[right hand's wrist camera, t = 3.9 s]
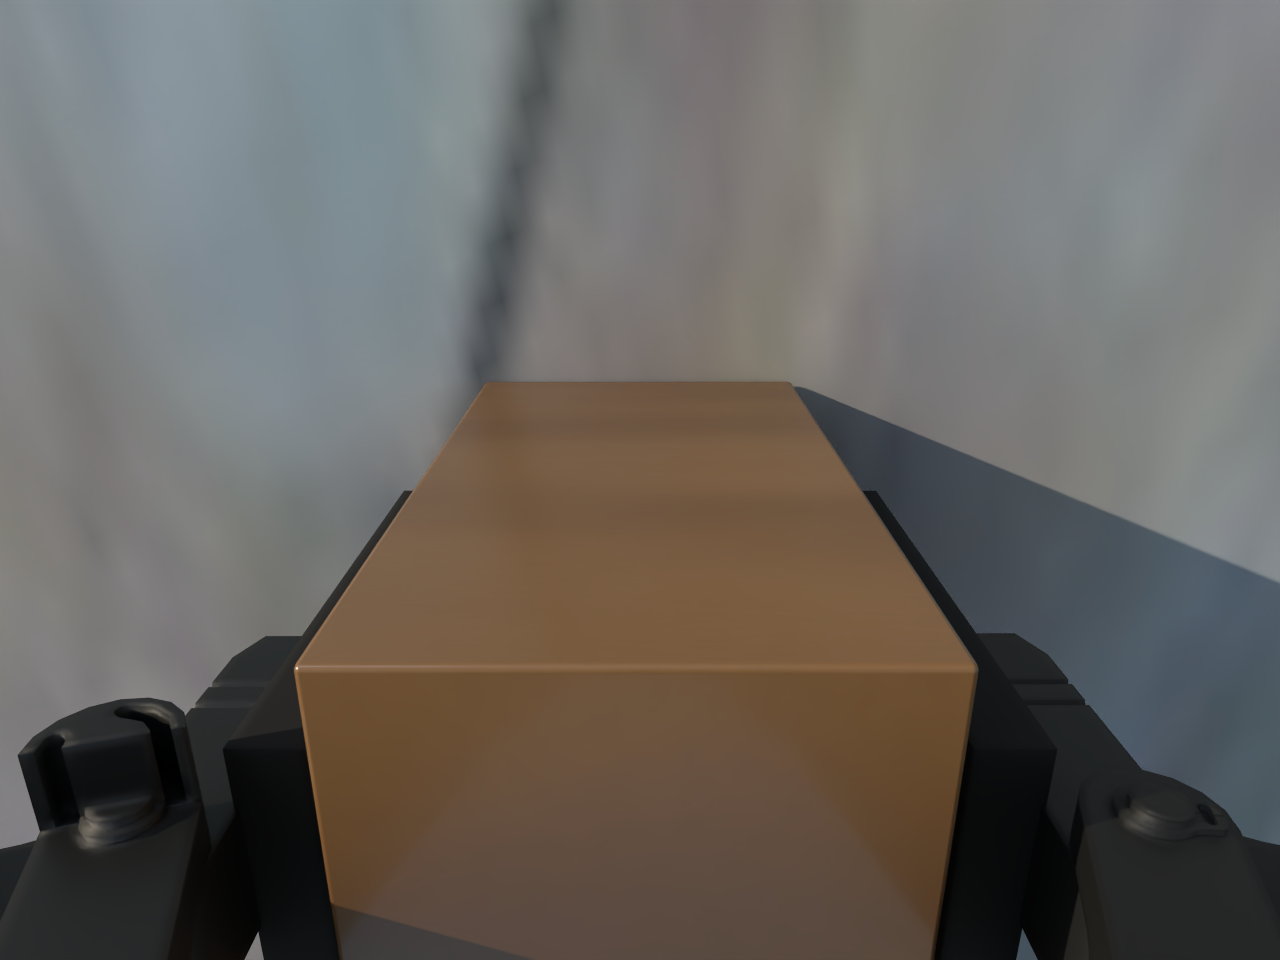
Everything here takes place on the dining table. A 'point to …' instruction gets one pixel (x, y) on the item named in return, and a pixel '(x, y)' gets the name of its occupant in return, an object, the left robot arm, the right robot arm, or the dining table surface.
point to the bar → (636, 695)
